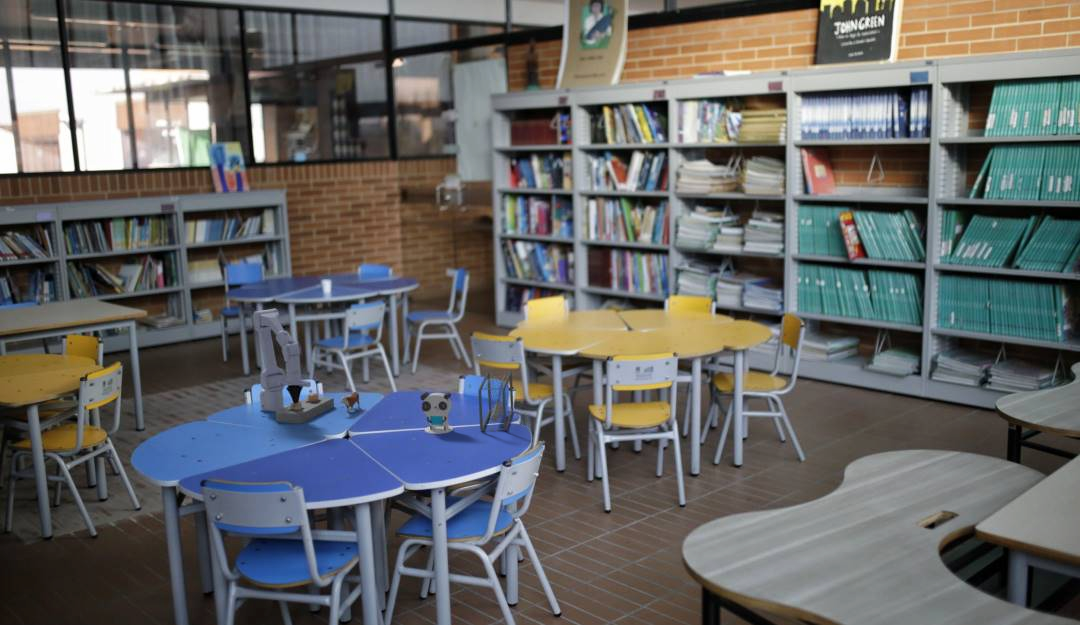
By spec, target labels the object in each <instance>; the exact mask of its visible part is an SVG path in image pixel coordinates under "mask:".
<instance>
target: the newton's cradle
mask: <svg viewBox="0 0 1080 625" xmlns="http://www.w3.org/2000/svg"><path fill="white" fill-rule="evenodd" d="M499 374H504V375H502V378H495V377H493V375H499ZM506 374H507V377H506ZM505 377H506V378H505ZM494 379H495V380H496V379H500V383H499V385H498V387H496V385H495V383H494V382H495V381H494ZM504 379H505V381H504ZM486 382H487V383H486ZM485 383H486V385H485ZM508 383H509V396H510V398H509V399H510V410H507V407H506V405H507V404H506V389H507V386H508ZM484 385H485V387H484ZM513 386H514V385H513V372H512V371H509V372H490V371H487V372H485V376H484V378H483V380H482V382H481V384H480V385H479V388H478V407H479V408H478V412H479V413H478V414H479V429H480V432H484V431H504V432H507V431H508V428H509V426H510V423H511V419H512V416H513V413H514V393H513V392H514V391H513ZM484 390H487V398H488V399H487V400H488V401H487V402H488V411H487V414H486V417H485V419H483V402H482V391H484ZM496 390H498V393H497V392H496ZM496 393H497V394H498V395H497V394H496ZM501 397H502V402H501ZM507 413H509V415H508V417H507ZM501 415H502V418H503V419H502V420H503V428H494V429H492V428H489V429H488V428H487V429H485V428H486V426H487V423H488V420H490V421H491V422H493V423H498V421H499V420H500V418H501ZM483 420H484V421H483Z"/></svg>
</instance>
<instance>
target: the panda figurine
mask: <svg viewBox="0 0 1080 625" xmlns="http://www.w3.org/2000/svg"><path fill="white" fill-rule="evenodd" d="M451 397H452V393H450V392H447V393H443V392H432V393H429V392H428V391H426V392H424V393H422V394H421V395H420V399H421V401H422V403H421V410H422V411H423V413H424V414H425V415H426V416H427V417H426V421H427V422H428V424H429V426H427V427H425V428H424V432H425V433H427V434H430V435H441V434H443V435H444V434H447V433H450V432H453V430H454V427H453V426H452V425H449V415H448V414H449V413H450V412H451V409H452V401H451V399H450V398H451Z"/></svg>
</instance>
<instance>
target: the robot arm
mask: <svg viewBox="0 0 1080 625" xmlns="http://www.w3.org/2000/svg"><path fill="white" fill-rule="evenodd" d="M252 321H253V327H254V331H257V332H258V336H259V339H260V340H259V341H260V345H261V346H260V348H261V352H262V357H263V363H264V369H263V370H262V371H261V373H260V375H259V376H260V381H259V382H260V386H261V389H262V390H260V394H259V399H260V409H259V410H260V411H261V412H262V411H263V412H264V411H266V412H275V413H276V412H278V411H280V410H282V409H284V408H286V407H289V405H285V404H284V403H285V402H284V389H285V387H286V386H287V387H286V391H287V392H288V394H289V395H290V398H291V401H292V402H293V403H298V402H299V401H300V396H301V393H302V390H303V388H304V387H306V388H310V387H311V384H312V383H311V381H308V380H307V381H306V380H303V379H302V375H301V373H302V372H301V360H300V359H301V358H300V356H301V355H302V346H301V344H300V342H299V341H296V340H294V339H293V337H292V336H291V334H290V333H289V332H288V331H287V330H284V328H283V326H282V324H281V322H280V313H279V311H278V309H277V308H271V309H265V310H263V309H262V310H255V311H254V312H253V314H252ZM272 332H273V333H274V334H275V335H276V336H275V339H276V341H277V343H278V344H279V346H280V348H281V352H282V355H283V360H284V362H285V370H286V372H284V369H283V368H280V367H278V363H277V360H276V353H275V349H274V343H273V338H272ZM285 374H286V375H285Z"/></svg>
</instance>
